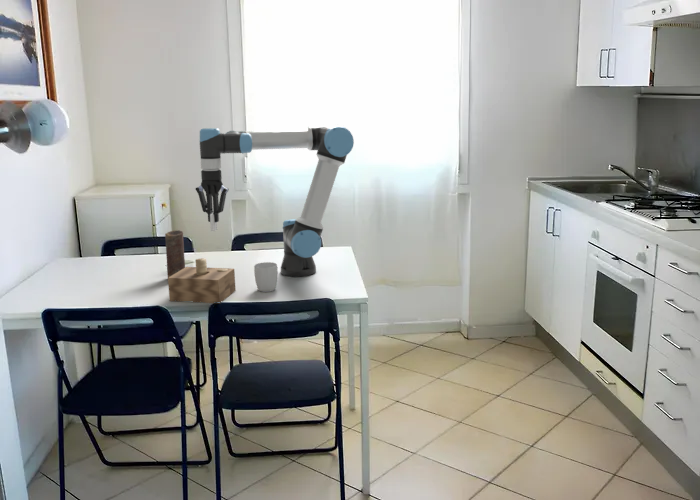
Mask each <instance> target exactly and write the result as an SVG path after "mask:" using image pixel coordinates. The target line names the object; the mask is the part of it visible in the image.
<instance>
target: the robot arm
mask: <svg viewBox="0 0 700 500" xmlns="http://www.w3.org/2000/svg"><path fill="white" fill-rule="evenodd" d="M354 144H355V141H354V136H353V134H352V132H351V131H350V130H349V129H348V128H346V127H345V126H344V125H343V126H342V125H339V124H337V125H336V124H323V125H317V126H316V125H315V126H308V127H307V128H306V129H302V128H301V129H274V130H271V129H270V130H267V129H266V130H241V131H240V130H229V131H227V132H225V133H222V132H220V129H219V128H217V127H216V128H215V127H214V128H213V127H212V128H211V127H210V128H207V127H206V128H201V129H200V130H199V152H200V153H199V154H200V169H201V171H200V174H201V175H200V177H201V178H200V179H201V183H200V185H199V186H197V187H195V191H196V193H197V195H198V197H199V201H200V206H201V209H202V211H203V212H204V213H206V214H207V221H208V223H209V224H210V226H209V227H210V232H216V231H217V230H218V223H219V221H220V220H219V219H220V217H219V216H220V215H219V214H220V213H222V212H223V211H224V209H225V203H226V199H227V198H226V197H227V193H228V192H229V187H225V186H224V184H223V182H222V179H223V178H222V170H221V168H222V160H221V159H222V157H221V154H243V155H244V154H249V153H252V151H254V150H281V149H282V150H284V149H285V150H289V149H308V150H309V151H317V152H316V157H317V158H318V161H317V164H316V167H315V171H314V174H313V177H312V180H311V183H310V185H309V189H308V193H307V195H306V199H305V203H304V206H303V209H302V212H301V214H300V216H299V217H298V218H291V219H285V220H284V221H283V222H282V233H283V234H282V235H283V236H282V237H283V238H282V239H283V258H282V262H281V266H280V274H281V275H283V276H287V277H306V276H311V275H313V274H315V273H316V272H317V267H316V266H317V265H316V263H315V260H314V256H316V254H318V253H319V251H320V250H321V248H322V247H321V246H322V239H321V236H322V233H323V231H324V226H323V225H322V221H323V218H324V215H325V212H326V209H327V205H328V203H329V199H330V196H331V193H332V190H333V187H334V184H335V182H336V177H337V174H338V171H339V168H340V166H342V165H344V164H345V163H346V162H345V161H346V159H347V156H348V155H349V154H350V153H351V151H352V150H353V148H354ZM219 193H220V197H219Z"/></svg>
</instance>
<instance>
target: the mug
mask: <svg viewBox="0 0 700 500" xmlns="http://www.w3.org/2000/svg"><path fill="white" fill-rule="evenodd" d="M253 267H254V268H253V271H254V279H255V285H256V287H257V290H258V291H259V292H263V293H265V292H266V293H268V292H274V291H275V290H276V288H277V285H278V273H279V271H278V264H277V263H275V262H270V261H267V262H265V261H264V262H259V263H255V264H254V266H253Z"/></svg>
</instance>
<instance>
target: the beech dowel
mask: <svg viewBox="0 0 700 500" xmlns="http://www.w3.org/2000/svg"><path fill="white" fill-rule="evenodd" d="M195 267H196V275H206V274H207V268H208V264H207V258H205V257H204V258H203V257H201V258H196V259H195Z"/></svg>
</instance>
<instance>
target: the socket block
mask: <svg viewBox="0 0 700 500" xmlns="http://www.w3.org/2000/svg"><path fill="white" fill-rule="evenodd" d="M167 284H168V295H169V302H181V301H193V302H192V303H201V302H203V304H205V303H206V304H215V303H214V302H221V301H222V302H224V301H225V300H226V299H227V298H229V297H230V296H231V295H232V294H234V293H235V292H236V291H237V290H236V275H235V268H232V267H229V268H227V267H225V268H224V267H207V274H206V275H196V266H185V268H184V269H182V270H180V271H179V272H177V273H175V274H174V275H172V276H170V277H168V276H167ZM175 300H176V301H175ZM204 302H205V303H204ZM222 302H221V303H222Z"/></svg>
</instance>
